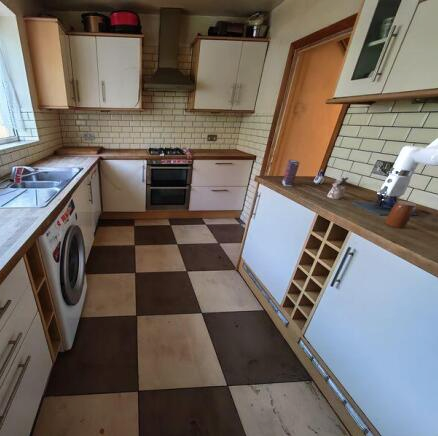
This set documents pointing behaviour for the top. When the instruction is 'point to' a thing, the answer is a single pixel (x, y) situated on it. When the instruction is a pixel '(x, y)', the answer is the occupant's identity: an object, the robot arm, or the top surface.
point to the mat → (376, 208)
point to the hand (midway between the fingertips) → (383, 206)
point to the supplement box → (290, 172)
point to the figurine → (338, 189)
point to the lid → (389, 202)
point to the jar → (400, 214)
